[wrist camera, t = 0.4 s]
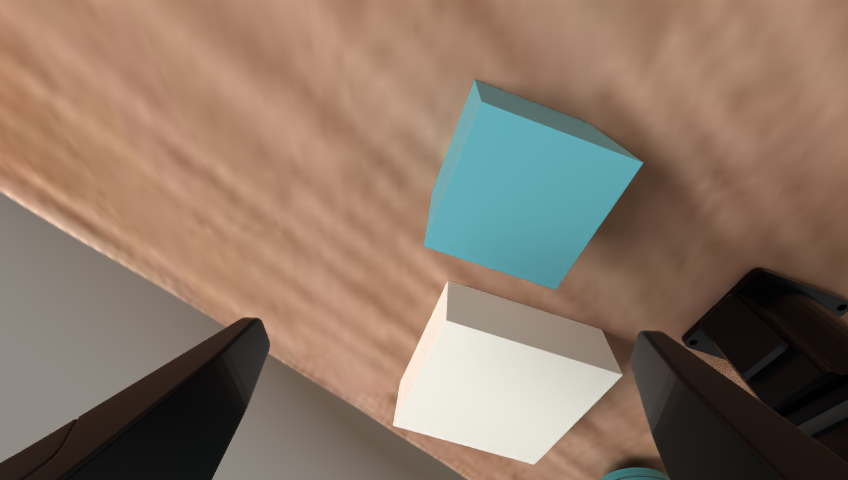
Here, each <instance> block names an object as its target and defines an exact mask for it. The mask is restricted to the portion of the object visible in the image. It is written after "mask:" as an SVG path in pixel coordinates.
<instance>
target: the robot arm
mask: <svg viewBox="0 0 848 480" xmlns="http://www.w3.org/2000/svg"><path fill="white" fill-rule="evenodd" d="M759 276H760V277H759ZM847 311H848V300H847V299H846V298H844V297H842V296H840V295H837V294H834V293H831V292H828V291H826V290H823V289H820V288H817V287H814V286H812V285H809V284H806V283H803V282H800V281H798V280H795V279H792V278H789V277H787V276H784V275H781V274H778V273H775V272H773V271H770V270H767V269H764V268H755V269H753V270H751V271H750V272H749V273H748V274H747V275H745V276H744V277H743V278H742V279H741V280H740V281H739V282H738V283H737V284H736V285H735V286H734V287H733V288H732V289H731V290H730V291H729V292H728V293H727V294H726V295H725V296H724V297H723V298H722V299H721V300H720V301H719V302H718V303H717V304H715V305H714V306H713V307H712V308H711V309H710V310H709V311H708V312H707V313H706V314H705V315H704V316H703V317H702V318H701V319H700V320H699V321H698V322H697V323H696V324H695V325H694V326H693V327H692V328H691V329H690V330H689V331H688V332H686V333H685V334H684V335H683V337H682V341H683V343H684V344H685V346H687V347H688V348H692V349H695V350H698V351H701V352H704V353H707V354H710V355H713V356H716V357H719V358H722V359H725V360H727V362H728V363H729V364H730V365H731V366H732V368H733V369H734V370H735V371H736V373H737V374H738V375H739V376H740V378H741V379H742V380H743V381H744V383H745V384H746V385H747V386H748V387H749V389H750V390H751V391H752V392H753V394H754V395H755V396H756V397H757V398H755V397H754V396H752V395H751V394H750V393H748V392H747V391H745V390H744V389H743V388H741V387H740V386H738V385H737V384H735V383H734V382H733V381H731V380H730V379H728V378H727V377H726V376H724V375H723V374H721V373H720V372H719V371H717V370H716V369H714V368H713V367H711V366H710V365H709V364H707V363H706V362H704V361H703V360H702V359H700V358H699V357H697V356H696V355H695V354H693V353H692V352H690V351H689V350H687V349H686V348H685V347H683V346H682V345H680V344H679V343H678V342H676V341H675V340H673V339H672V338H670V337H669V336H668V335H666V334H665V333H663V332H661V331H641V332H640V333H639V334H638V336H637V340H636V343H635V346H634V349H633V352H632V355H631V366H632V370H633V374H634V377H635V380H636V384H637V387H638V391H639V394H640V397H641V401H642V404H643V408H644V411H645V414H646V418H647V421H648V424H649V428H650V431H651V434H652V436H653V439H654V442H655V444H656V447H657V449H658V452H659V454H660V457H661V459H662V461H663V464H664V466H665V469H666V471H667V473H668V476H669V478H670V480H848V323H846V322H845V321H844V320H842V319H841V318H840V317H841V316H842V315H843V314H845V313H846V312H847ZM269 348H270V341H269V338H268V335H267V333H266V330H265V328H264V325H263V322H262V320H260V319H259V318H250V317H245V318H242V319H240V320H238V321H236V322H235V323H233V324H231V325H230V326H228V327H227V328H225V329H223V330H222V331H220V332H218V333H217V334H215V335H213V336H212V337H210V338H208V339H207V340H205V341H203V342H202V343H200V344H199V345H197V346H195V347H194V348H192V349H190V350H189V351H187V352H185V353H184V354H182V355H180V356H179V357H177V358H175V359H174V360H172V361H171V362H169V363H167V364H165V365H164V366H162V367H160V368H159V369H157V370H156V371H154V372H152V373H150V374H149V375H147V376H145V377H144V378H142V379H141V380H139V381H137V382H136V383H134V384H132V385H131V386H129V387H127V388H126V389H124V390H122V391H121V392H119V393H117V394H116V395H114V396H112V397H111V398H109V399H108V400H106V401H104V402H102V403H101V404H99V405H98V406H96V407H94V408H93V409H91V410H89V411H88V412H86V413H84V414H83V415H81V416H79V418H78V419H75V420H72V421H71V422H69V423H68V424H66V425H64V426H63V427H61V428H60V429H58V430H56V431H55V432H53V433H51V434H49V435H48V436H46V437H44V438H43V439H41V440H39V441H38V442H36V443H34V444H33V445H31V446H29V447H27V448H26V449H24V450H22V451H21V452H19V453H17V454H15V455H14V456H12V457H10V458H8V459H6V460H5V461H3V462H1V463H0V480H212V478H213V476H214V474H215V472H216V470H217V468H218V466H219V464H220V462H221V460H222V458H223V456H224V454H225V452H226V450H227V448H228V446H229V444H230V442H231V440H232V438H233V435H234V434H235V431H236V430H237V427H238V425H239V423H240V421H241V419H242V417H243V415H244V413H245V411H246V409H247V407H248V404H249V402H250V399H251V397H252V394H253V391H254V389H255V386H256V383H257V381H258V378H259V375H260V373H261V370H262V368H263V365H264V362H265V360H266V357H267V355H268V352H269Z"/></svg>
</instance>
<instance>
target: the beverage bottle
mask: <svg viewBox="0 0 848 480" xmlns="http://www.w3.org/2000/svg"><path fill="white" fill-rule="evenodd" d="M600 480H670V479H669V478H668V476H667V475H665V474H664V473H662V472H660V471H657V470H654V469H649V468H625V469H620V470H617V471H613V472H611V473H609V474H607V475H605V476H604V477H602V478H601V479H600Z"/></svg>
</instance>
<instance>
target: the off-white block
mask: <svg viewBox="0 0 848 480" xmlns="http://www.w3.org/2000/svg"><path fill="white" fill-rule="evenodd" d="M622 376H623V374H622V372H621V370H620V368H619V366H618V363H617V361H616V359H615V357H614V355H613V353H612V351H611V349H610V346H609V344H608V342H607V340H606V338H605V336H604V334H603V332H602V330H601V329H598V328H595V327H592V326H589V325H586V324H583V323H579V322H576V321H573V320H570V319H567V318H564V317H561V316H558V315H554V314H551V313H548V312H545V311H542V310H539V309H536V308H533V307H529V306H526V305H523V304H520V303H517V302H514V301H511V300H508V299H504V298H501V297H498V296H495V295H492V294H489V293H486V292H483V291H479V290H476V289H473V288H470V287H467V286H464V285H461V284H458V283H454V282H451V281H448V282H447V284H446V286H445V288H444V290H443V292H442V294H441V297H440V299H439V301H438V303H437V305H436V307H435V309H434V312H433V314H432V316H431V318H430V320H429V322H428V324H427V326H426V329H425V331H424V333H423V335H422V337H421V339H420V341H419V344H418V346H417V348H416V350H415V352H414V354H413V356H412V359H411V361H410V363H409V365H408V367H407V369H406V371H405V373H404V376H403V378H402V380H401V382H400V387H399V393H398V399H397V405H396V411H395V417H394V423H393V426H396V427H400V428H403V429H407V430H411V431H414V432H418V433H421V434H425V435H429V436H432V437H436V438H440V439H443V440H447V441H450V442H454V443H458V444H461V445H465V446H468V447H472V448H476V449H479V450H483V451H487V452H490V453H494V454H497V455H501V456H505V457H508V458H512V459H516V460H519V461H523V462H526V463H530V464H535V463H536V462H537V461H538V460H539V459H540V458H541V457H542V456H543V455H544V454H545V453H546V452H547V451H548V450H549V449H550V448H551V447H552V446H553V445H554V444H555V443H556V442H557V441H558V440H559V439H560V438H561V437H562V436H563V435H564V434H565V433H566V432H567V431H568V430H569V429H570V428H571V427H572V426H573V425H574V424H575V423H576V422H577V421H578V420H579V419H580V418H581V417H582V416H583V415H584V414H585V413H586V412H587V411H588V410H589V409H590V408H591V407H592V406H593V405H594V404H595V403H596V402H597V401H598V400H599V399H600V398H601V397H602V396H603V395H604V394H605V393H606V392H607V391H608V390H609V389H610V388H611V387H612V386H613V385H614V384H615V383H616V382H617V381H618V380H619V379H620V378H621V377H622Z"/></svg>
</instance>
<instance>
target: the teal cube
mask: <svg viewBox="0 0 848 480" xmlns="http://www.w3.org/2000/svg"><path fill="white" fill-rule="evenodd" d="M642 164H643V162H642V161H640V160H639V159H638V158H636V157H635V156H633V155H632V154H631V153H629V152H628V151H627V150H625V149H624V148H622V147H621V146H620V145H618V144H617V143H615V142H614V141H613V140H611V139H610V138H609V137H607V136H606V135H604V134H603V133H602V132H600V131H599V130H598V129H596V128H595V127H593V126H592V125H591V124H589V123H587V122H584V121H581V120H579V119H576V118H574V117H571V116H568V115H566V114H563V113H560V112H558V111H555V110H553V109H550V108H547V107H545V106H542V105H540V104H537V103H534V102H532V101H529V100H527V99H524V98H521V97H519V96H516V95H514V94H511V93H508V92H506V91H503V90H500V89H498V88H495V87H493V86H490V85H487V84H485V83H482V82H480V81H477V80H474V82H473V85H472V88H471V90H470V93H469V96H468V98H467V101H466V104H465V106H464V109H463V112H462V114H461V117H460V119H459V122H458V125H457V127H456V130H455V133H454V135H453V138H452V141H451V143H450V146H449V149H448V151H447V154H446V157H445V159H444V162H443V164H442V167H441V170H440V172H439V175H438V178H437V180H436V183H435V186H434V188H433V191H432V198H431V204H430V210H429V216H428V223H427V229H426V235H425V241H424V247H427V248H430V249H433V250H436V251H439V252H442V253H445V254H448V255H451V256H454V257H457V258H461V259H464V260H467V261H470V262H473V263H476V264H479V265H482V266H485V267H488V268H491V269H494V270H497V271H500V272H503V273H506V274H509V275H512V276H515V277H518V278H521V279H524V280H527V281H530V282H533V283H536V284H539V285H542V286H545V287H548V288H551V289H554V290H556V288H557V287H558V285H559V284H560V283H561V281H562V280H563V278H564V277H565V275H566V274H567V272H568V271H569V270H570V268H571V267H572V265H573V264H574V262H575V261H576V259H577V258H578V257H579V255H580V254H581V252H582V251H583V249H584V248H585V246H586V245H587V244H588V242H589V241H590V239H591V238H592V236H593V235H594V233H595V232H596V231H597V229H598V228H599V226H600V225H601V223H602V222H603V220H604V219H605V218H606V216H607V215H608V213H609V212H610V210H611V209H612V207H613V206H614V205H615V203H616V202H617V200H618V199H619V197H620V196H621V194H622V193H623V192H624V190H625V189H626V187H627V186H628V184H629V183H630V181H631V180H632V179H633V177H634V176H635V174H636V173H637V171H638V170H639V168H640V167H641V166H642Z"/></svg>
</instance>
